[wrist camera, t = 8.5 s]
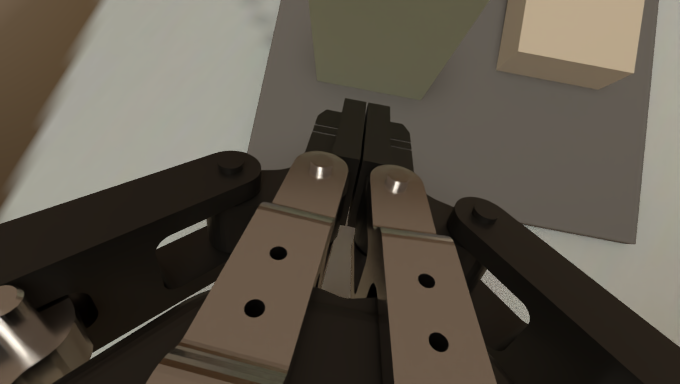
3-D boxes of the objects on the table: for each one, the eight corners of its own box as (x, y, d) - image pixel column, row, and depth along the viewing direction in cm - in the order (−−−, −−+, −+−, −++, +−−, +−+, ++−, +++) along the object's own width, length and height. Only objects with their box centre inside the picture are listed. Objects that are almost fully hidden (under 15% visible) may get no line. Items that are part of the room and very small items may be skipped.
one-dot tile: (428, 56, 20) (505, -83, 11) (420, 100, 20) (493, -6, 11) (325, 37, 20) (320, -118, 11) (316, 80, 20) (303, -43, 11)
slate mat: (651, -14, 21) (660, -21, 21) (626, 243, 20) (635, 244, 19) (301, -80, 21) (300, -89, 21) (246, 171, 20) (243, 169, 19)
